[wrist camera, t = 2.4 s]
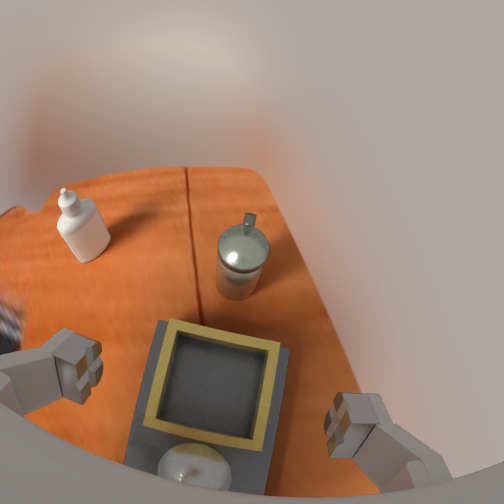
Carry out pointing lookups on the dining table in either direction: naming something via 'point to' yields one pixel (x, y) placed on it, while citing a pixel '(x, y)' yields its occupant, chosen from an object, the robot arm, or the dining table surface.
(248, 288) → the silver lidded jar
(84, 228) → the eye dropper bottle
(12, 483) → the robot arm
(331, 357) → the dining table surface
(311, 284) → the dining table surface
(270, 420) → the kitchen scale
